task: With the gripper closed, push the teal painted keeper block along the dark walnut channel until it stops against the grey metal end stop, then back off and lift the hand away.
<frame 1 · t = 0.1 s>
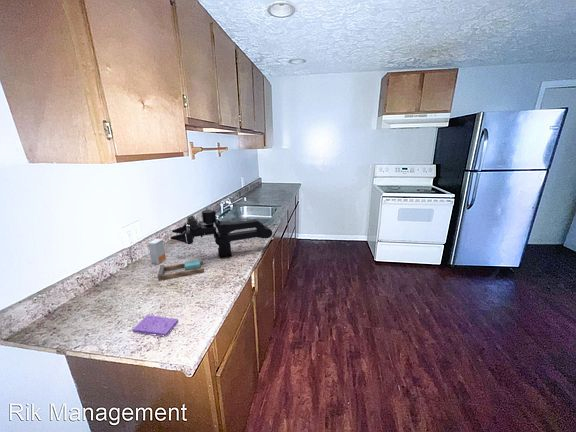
hand: (171, 234, 117), 17 cm above the worktop, tool horizontal, fingers open, 9 cm apart
sponges: (156, 328, 80), on the worktop
keeper block: (193, 270, 117), resting in guide channel
guide channel: (182, 271, 115), on the worktop
skincare box: (159, 261, 125), on the worktop
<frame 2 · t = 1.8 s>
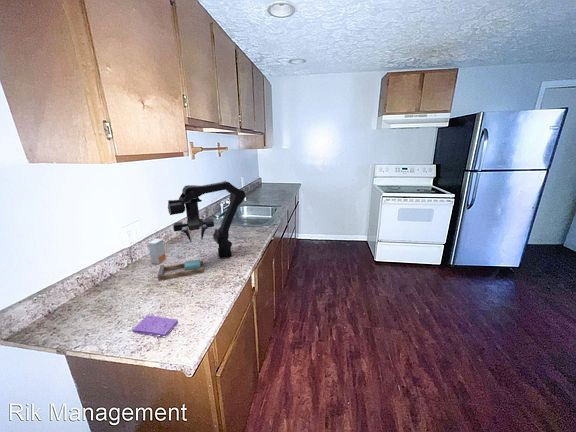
hand: (196, 240, 119), 13 cm above the worktop, tool pointing down, fingers open, 5 cm apart
nothing on the worktop moved.
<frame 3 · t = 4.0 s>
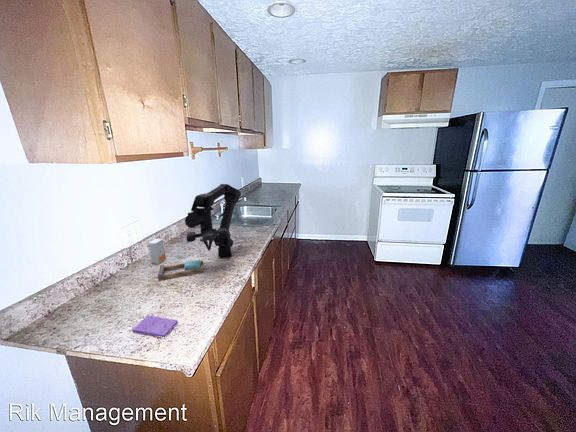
hand: (209, 250, 117), 9 cm above the worktop, tool pointing down, fingers closed
nothing on the worktop moved.
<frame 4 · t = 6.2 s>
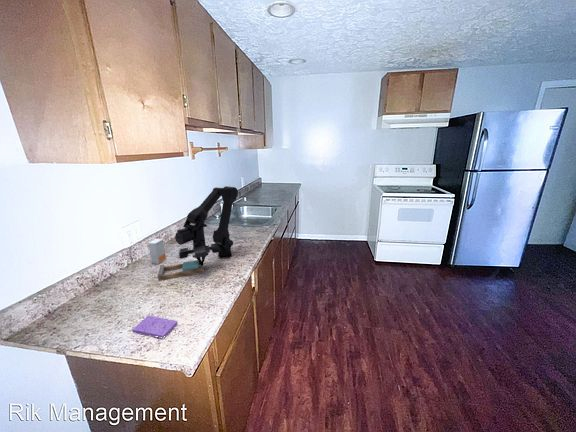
hand: (202, 265, 117), 1 cm above the worktop, tool pointing down, fingers closed
keeper block: (191, 270, 116), resting in guide channel, touching gripper
everything else where it was.
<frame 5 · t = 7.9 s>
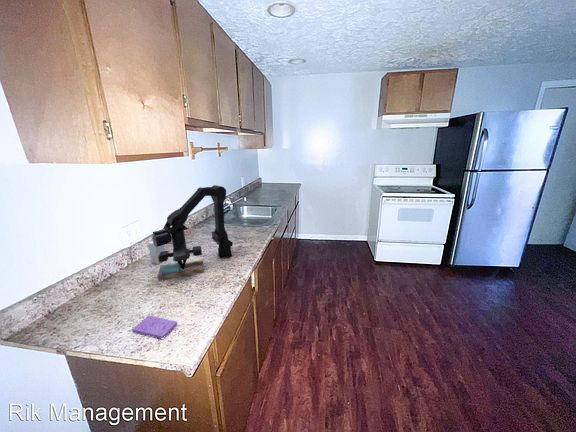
hand: (183, 269, 115), 1 cm above the worktop, tool pointing down, fingers closed
keeper block: (172, 273, 113), resting in guide channel, touching gripper
everything else where it was.
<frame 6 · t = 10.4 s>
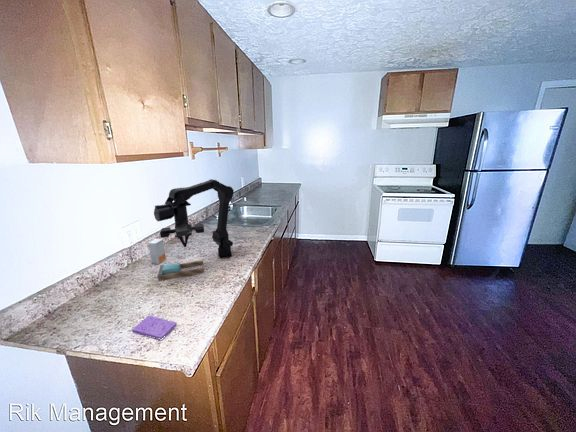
hand: (185, 246, 112), 13 cm above the worktop, tool pointing down, fingers closed
keeper block: (172, 273, 113), resting in guide channel
everything else where it was.
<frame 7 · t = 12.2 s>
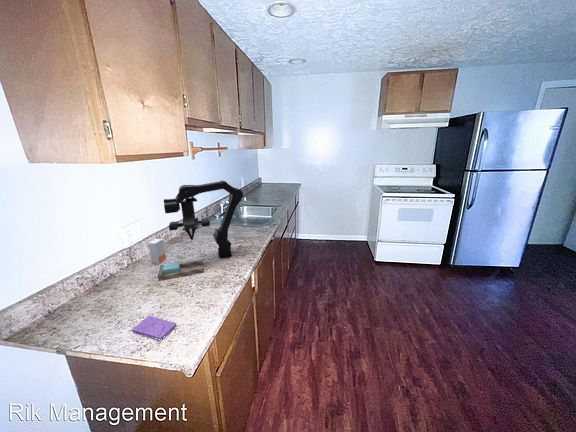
hand: (192, 239, 120), 13 cm above the worktop, tool pointing down, fingers closed
nothing on the worktop moved.
at the end: keeper block 0.2 cm from the target spot on the guide channel, point 0.0 cm above the guide channel's base; keeper block tilted 0°; keeper block moved 9.6 cm from its start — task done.
